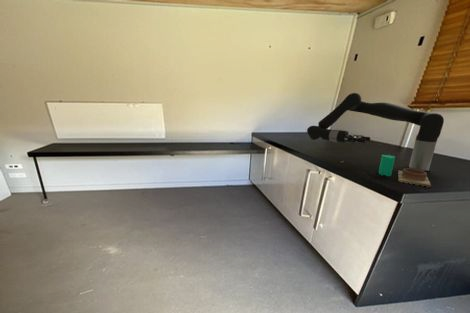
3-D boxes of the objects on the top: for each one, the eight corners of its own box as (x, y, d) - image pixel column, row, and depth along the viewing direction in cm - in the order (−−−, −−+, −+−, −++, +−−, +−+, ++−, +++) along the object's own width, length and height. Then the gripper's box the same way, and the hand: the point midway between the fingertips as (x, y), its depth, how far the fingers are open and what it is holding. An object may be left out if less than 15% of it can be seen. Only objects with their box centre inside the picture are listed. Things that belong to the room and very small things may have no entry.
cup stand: (398, 172, 117) (399, 165, 116) (426, 177, 110) (428, 169, 109) (398, 181, 103) (400, 173, 102) (430, 187, 96) (432, 179, 95)
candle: (376, 174, 114) (381, 153, 110) (379, 171, 118) (383, 151, 115) (390, 177, 110) (394, 155, 106) (392, 174, 114) (396, 153, 110)
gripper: (334, 131, 122) (365, 134, 111) (343, 129, 132) (372, 132, 120) (332, 143, 124) (362, 148, 113) (341, 140, 134) (370, 144, 122)
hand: (367, 140), depth 117 cm, fingers open, 8 cm apart
